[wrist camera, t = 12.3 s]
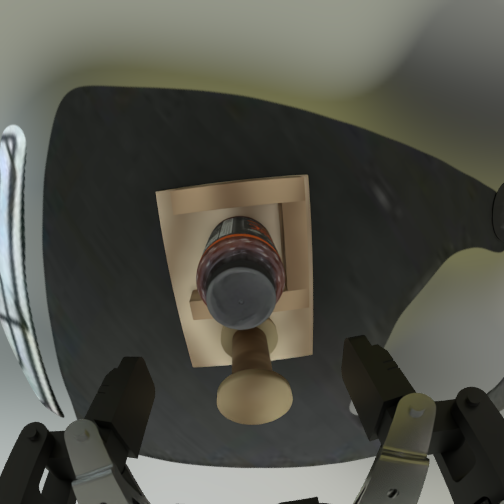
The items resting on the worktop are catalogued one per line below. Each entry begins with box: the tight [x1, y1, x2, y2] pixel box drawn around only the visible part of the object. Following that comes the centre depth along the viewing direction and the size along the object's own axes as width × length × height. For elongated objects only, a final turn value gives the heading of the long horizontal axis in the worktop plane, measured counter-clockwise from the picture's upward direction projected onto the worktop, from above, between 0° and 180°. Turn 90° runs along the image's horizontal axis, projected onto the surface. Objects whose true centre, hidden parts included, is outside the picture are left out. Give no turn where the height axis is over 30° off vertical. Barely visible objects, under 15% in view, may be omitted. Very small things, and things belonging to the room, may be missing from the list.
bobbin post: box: [217, 318, 293, 425], centre depth 25 cm, size 6×6×10 cm
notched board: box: [156, 175, 313, 367], centre depth 27 cm, size 14×20×4 cm
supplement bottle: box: [196, 216, 285, 330], centre depth 21 cm, size 6×6×11 cm
